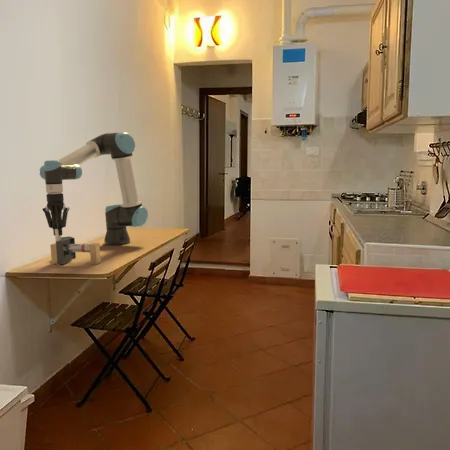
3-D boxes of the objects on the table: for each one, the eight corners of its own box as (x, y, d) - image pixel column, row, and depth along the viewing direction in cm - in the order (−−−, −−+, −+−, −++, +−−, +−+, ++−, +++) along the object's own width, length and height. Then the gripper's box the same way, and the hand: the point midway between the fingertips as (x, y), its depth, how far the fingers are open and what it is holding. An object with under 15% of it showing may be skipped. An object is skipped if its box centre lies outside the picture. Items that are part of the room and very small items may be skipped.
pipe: (51, 264, 226) (50, 244, 225) (56, 262, 230) (54, 243, 229) (96, 264, 222) (95, 244, 221) (100, 262, 226) (99, 243, 225)
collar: (57, 264, 223) (55, 241, 222) (65, 260, 231) (64, 238, 230) (63, 264, 223) (61, 241, 221) (71, 260, 230) (69, 238, 229)
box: (76, 258, 239) (74, 237, 238) (64, 259, 236) (63, 239, 234) (71, 256, 245) (69, 236, 244) (60, 257, 242) (58, 237, 241)
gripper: (37, 194, 220) (41, 243, 223) (63, 193, 218) (67, 243, 221) (46, 192, 228) (50, 240, 231) (71, 192, 225) (75, 240, 229)
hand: (58, 242), depth 226 cm, fingers closed
